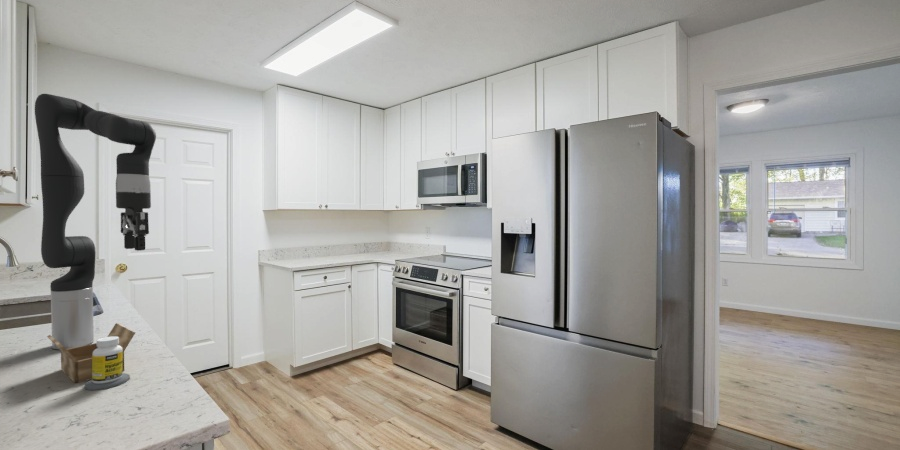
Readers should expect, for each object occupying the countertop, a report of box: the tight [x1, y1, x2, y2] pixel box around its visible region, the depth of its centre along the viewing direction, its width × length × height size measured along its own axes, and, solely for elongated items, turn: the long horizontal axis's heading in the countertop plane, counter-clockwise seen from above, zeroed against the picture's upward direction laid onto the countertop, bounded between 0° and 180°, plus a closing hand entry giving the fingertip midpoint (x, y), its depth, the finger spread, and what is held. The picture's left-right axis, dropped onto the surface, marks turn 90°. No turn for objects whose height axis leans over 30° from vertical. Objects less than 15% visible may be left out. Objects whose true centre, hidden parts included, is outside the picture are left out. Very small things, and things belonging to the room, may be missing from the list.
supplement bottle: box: [91, 336, 123, 384], centre depth 92 cm, size 5×5×10 cm
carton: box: [46, 322, 136, 384], centre depth 100 cm, size 14×14×10 cm
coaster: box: [84, 372, 131, 391], centre depth 92 cm, size 8×8×1 cm
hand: (134, 249), depth 109 cm, fingers open, 8 cm apart
